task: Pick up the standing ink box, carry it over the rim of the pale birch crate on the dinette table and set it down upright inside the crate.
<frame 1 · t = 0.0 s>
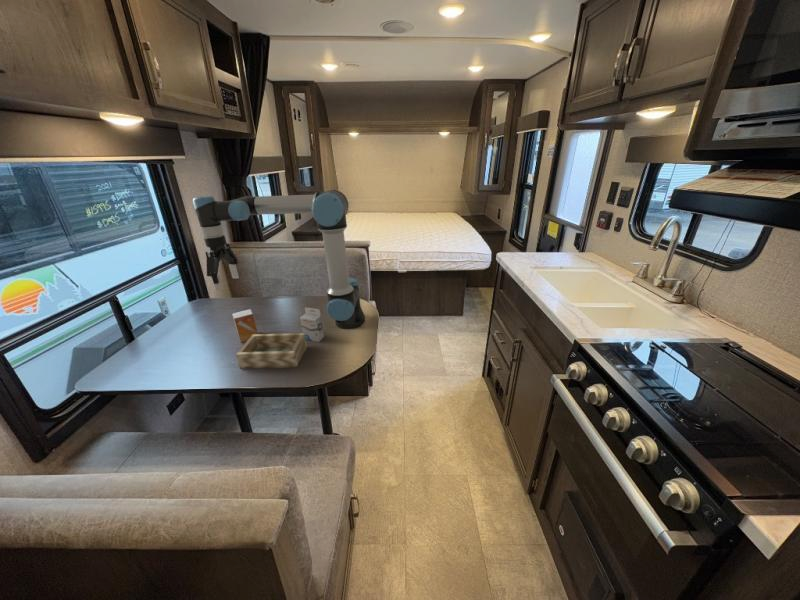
hand: (228, 283, 134), 28 cm above the table, fingers open, 13 cm apart
ink box: (314, 338, 144), on the table
small box: (249, 337, 147), on the table
crate: (275, 356, 131), on the table
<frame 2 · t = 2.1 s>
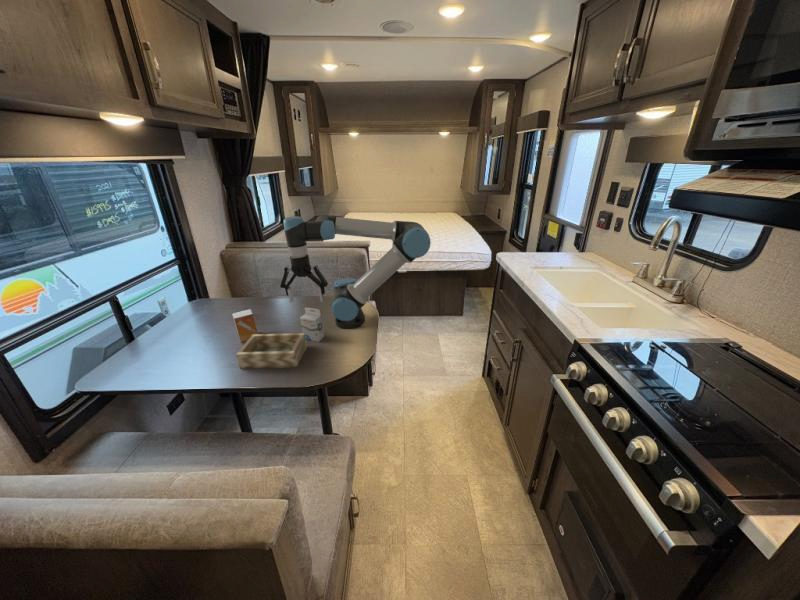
hand: (307, 301, 136), 19 cm above the table, fingers open, 13 cm apart
nothing on the table moved.
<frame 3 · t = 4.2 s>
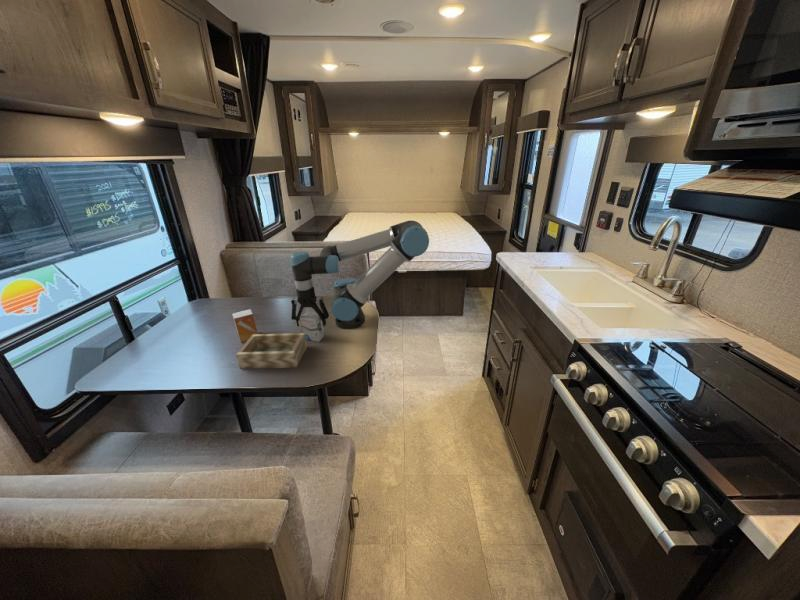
hand: (313, 331, 143), 4 cm above the table, fingers closed on ink box, 9 cm apart
ink box: (314, 338, 144), on the table, touching gripper
everything else where it was.
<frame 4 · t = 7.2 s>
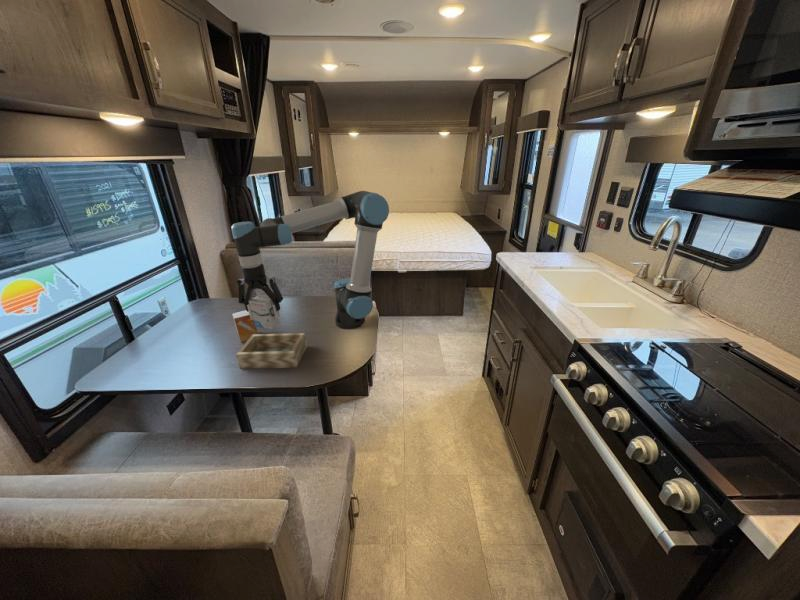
hand: (265, 317, 123), 19 cm above the table, fingers closed on ink box, 9 cm apart
ink box: (267, 325, 125), point 15 cm above the table, touching gripper
everything else where it was.
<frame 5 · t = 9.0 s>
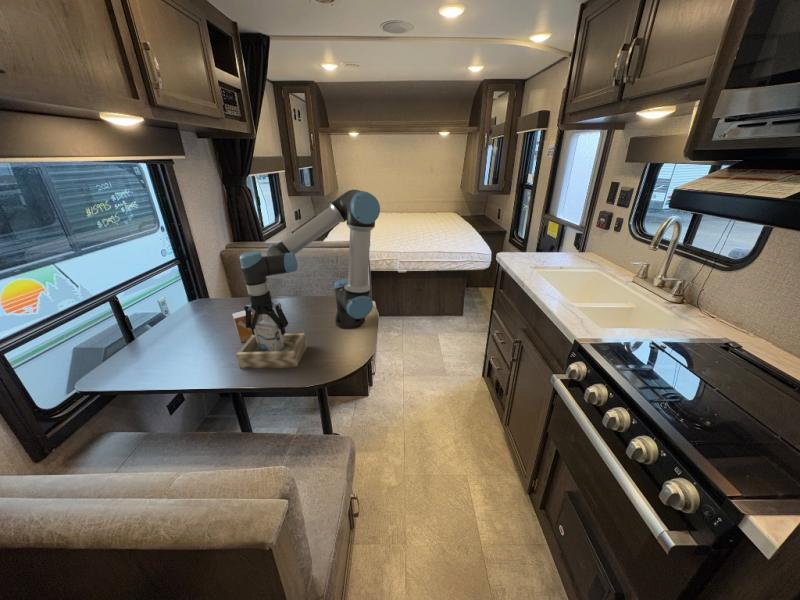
hand: (271, 341, 128), 8 cm above the table, fingers closed on ink box, 9 cm apart
ink box: (272, 348, 129), point 4 cm above the table, touching gripper
everything else where it was.
when the fingers open (6 cm above the table, at t = 10.4 s): ink box drops 1 cm, resting on crate.
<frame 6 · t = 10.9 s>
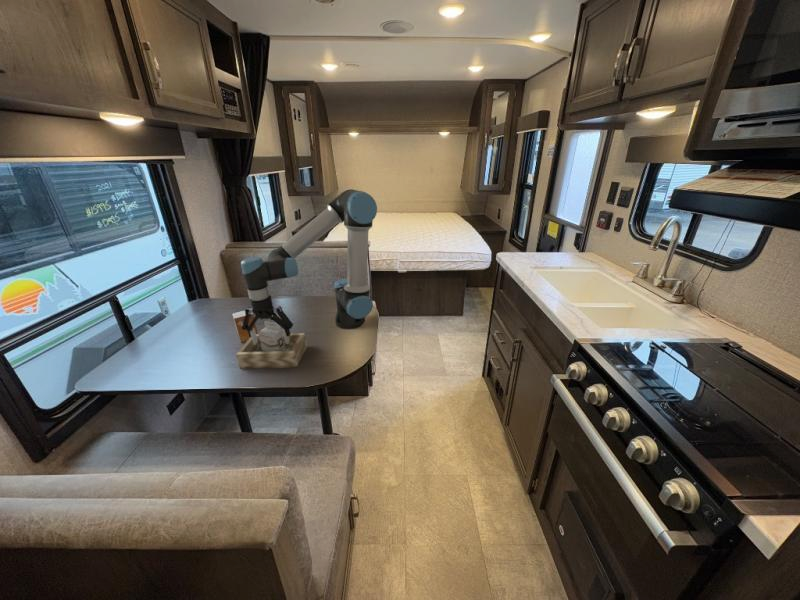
hand: (271, 342, 128), 7 cm above the table, fingers open, 13 cm apart
ink box: (275, 354, 131), point 1 cm above the table, touching crate
everything else where it was.
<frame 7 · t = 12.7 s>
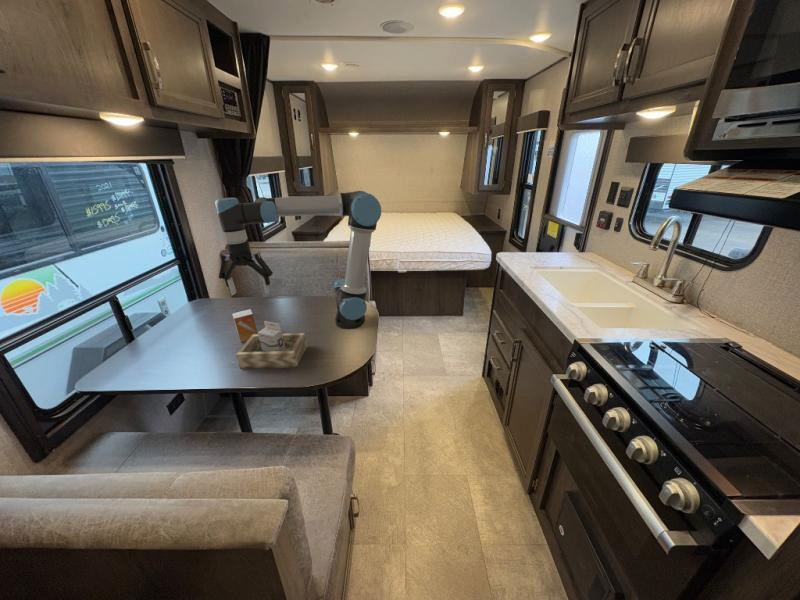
hand: (250, 293, 123), 28 cm above the table, fingers open, 13 cm apart
nothing on the table moved.
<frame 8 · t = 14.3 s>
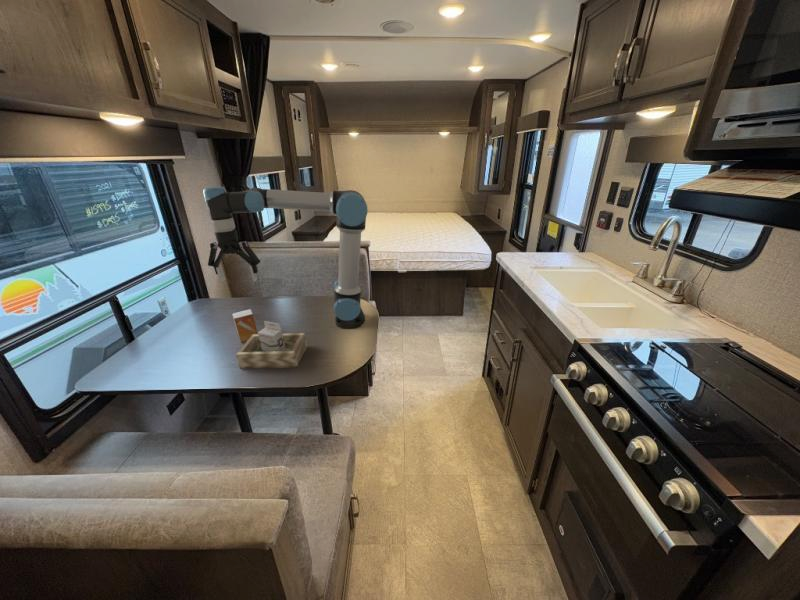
hand: (239, 281, 127), 32 cm above the table, fingers open, 13 cm apart
nothing on the table moved.
at the end: ink box inside the target area on the crate (0.2 cm from its centre), point 1.0 cm above the crate's base; ink box tilted 0°; the gripper is holding nothing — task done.
